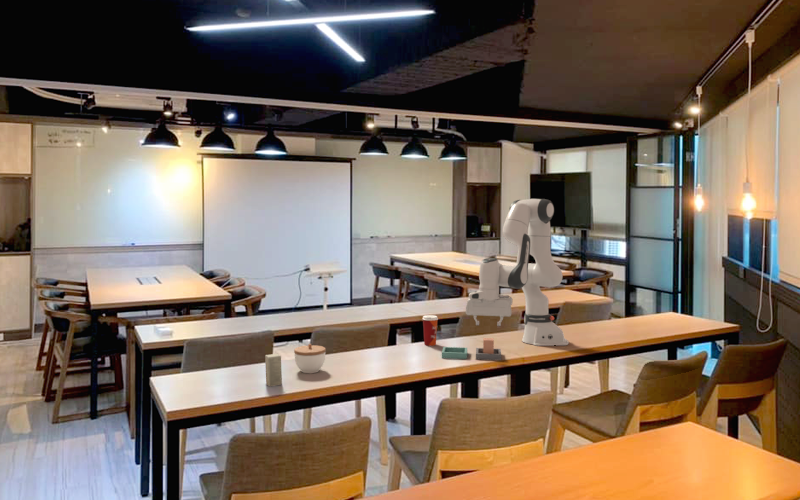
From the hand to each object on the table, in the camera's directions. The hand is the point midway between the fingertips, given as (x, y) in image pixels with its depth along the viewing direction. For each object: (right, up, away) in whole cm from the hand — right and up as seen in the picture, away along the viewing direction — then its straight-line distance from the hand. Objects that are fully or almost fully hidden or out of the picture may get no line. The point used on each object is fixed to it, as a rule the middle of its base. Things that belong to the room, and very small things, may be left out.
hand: (488, 325), depth 257 cm
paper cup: (-24, -13, +25) cm, 37 cm away
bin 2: (0, -14, +1) cm, 14 cm away
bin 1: (-15, -14, +3) cm, 20 cm away
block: (0, -14, +1) cm, 14 cm away
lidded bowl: (-76, -16, -22) cm, 81 cm away
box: (-87, -17, -41) cm, 97 cm away
